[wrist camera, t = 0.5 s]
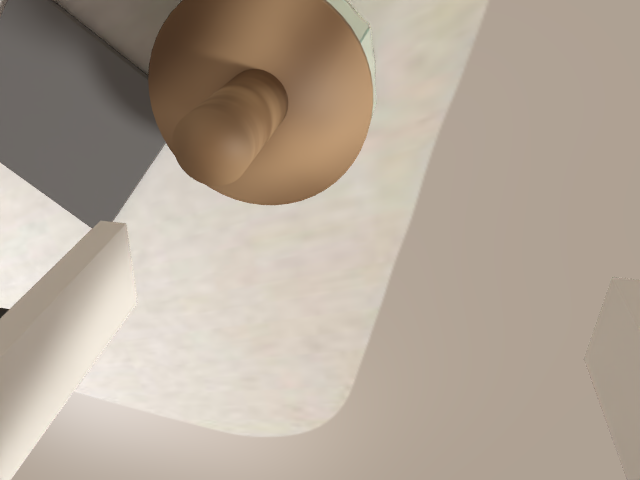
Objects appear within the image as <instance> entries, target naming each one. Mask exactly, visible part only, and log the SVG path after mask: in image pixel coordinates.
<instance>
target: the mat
mask: <svg viewBox="0 0 640 480" xmlns="http://www.w3.org/2000/svg"><path fill="white" fill-rule="evenodd" d="M165 143H166V142H165V140H164V138H163V137H162V134H161V132H160V130H159V128H158V125H157V123H156V120H155V117H154V114H153V111H152V106H151V101H150V96H149V84H148V75H146V74H145V73H144V72H142V71H141V70H140V69H139V68H137V67H136V66H135V65H134V64H132V63H131V62H130V61H129V60H127V59H126V58H125V57H124V56H122V55H121V54H120V53H118V52H117V51H116V50H115V49H113V48H112V47H111V46H110V45H108V44H107V43H106V42H105V41H103V40H102V39H101V38H100V37H98V36H97V35H96V34H94V33H93V32H92V31H91V30H89V29H88V28H87V27H86V26H84V25H83V24H82V23H81V22H79V21H78V20H77V19H75V18H74V17H73V16H72V15H70V14H69V13H68V12H67V11H65V10H64V9H63V8H62V7H60V6H59V5H58V4H57V3H55V2H54V1H53V0H7V3H6V5H5V7H4V10H3V12H2V14H1V17H0V163H2V164H3V165H5V166H6V167H7V168H9V169H10V170H12V171H13V172H14V173H16V174H17V175H19V176H20V177H21V178H23V179H24V180H25V181H27V182H28V183H30V184H31V185H32V186H34V187H35V188H37V189H38V190H39V191H41V192H42V193H44V194H45V195H46V196H48V197H49V198H51V199H52V200H53V201H55V202H56V203H57V204H59V205H60V206H62V207H63V208H64V209H66V210H67V211H69V212H70V213H71V214H73V215H74V216H76V217H77V218H78V219H80V220H81V221H82V222H84V223H85V224H87V225H88V226H89V227H91V228H94V227H95V226H96V225H97V224H98V223H99V222H100V221H108V222H113V220H114V219H115V217H116V216H117V214H118V213H119V211H120V210H121V209H122V207H123V206H124V204H125V203H126V201H127V200H128V198H129V197H130V195H131V194H132V192H133V191H134V189H135V188H136V186H137V185H138V183H139V182H140V180H141V179H142V177H143V176H144V174H145V173H146V171H147V170H148V168H149V167H150V165H151V164H152V163H153V161H154V160H155V158H156V157H157V155H158V154H159V152H160V151H161V149H162V148H163V146H164V145H165Z"/></svg>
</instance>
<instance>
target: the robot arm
mask: <svg viewBox="0 0 640 480" xmlns="http://www.w3.org/2000/svg"><path fill="white" fill-rule="evenodd" d="M137 303H138V301H137V294H136V287H135V280H134V273H133V267H132V260H131V253H130V246H129V239H128V233H127V226H126V223H117V222H108V221H100V222H99V223H98V224H97V225H96V226H95V227H94V228H92V229H91V230H90V231H89V232H88V233H87V234H86V235H85V236H84V237H83V238H82V239H81V240H80V241H79V242H78V243H77V244H76V245H75V246H74V247H73V248H72V249H71V250H70V251H69V252H68V253H67V254H66V255H65V256H64V257H63V258H62V259H61V260H60V261H59V262H58V263H57V264H56V265H55V266H54V267H53V268H51V269H50V270H49V271H48V272H47V273H46V274H45V275H44V276H43V277H42V278H41V279H40V280H39V281H38V282H37V283H36V284H35V285H34V286H33V287H32V288H31V289H30V290H29V291H28V292H27V293H26V294H25V295H24V296H23V297H22V298H21V299H20V300H19V301H18V302H17V303H16V304H15V305H14V306H13V307H12V308H11V309H4V308H0V480H11V479H12V477H13V476H14V474H15V473H16V472H17V470H18V469H19V467H20V466H21V465H22V463H23V462H24V460H25V459H26V458H27V456H28V455H29V453H30V452H31V451H32V449H33V448H34V447H35V445H36V444H37V442H38V441H39V440H40V438H41V437H42V435H43V434H44V432H45V431H46V430H47V428H48V427H49V426H50V424H51V423H52V421H53V420H54V419H55V417H56V416H57V415H58V413H59V412H60V410H61V409H62V408H63V406H64V405H65V403H66V402H67V401H68V399H69V398H70V396H71V395H72V394H73V392H74V391H75V389H76V388H77V387H78V385H79V384H80V383H81V381H82V380H83V378H84V377H85V376H86V374H87V373H88V371H89V370H90V369H91V367H92V366H93V364H94V363H95V362H96V360H97V359H98V357H99V356H100V355H101V353H102V352H103V351H104V349H105V348H106V346H107V345H108V344H109V342H110V341H111V339H112V338H113V337H114V335H115V334H116V332H117V331H118V330H119V328H120V327H121V325H122V324H123V323H124V321H125V320H126V319H127V317H128V316H129V314H130V313H131V312H132V310H133V309H134V307H135V306H136V305H137ZM584 361H585V363H586V366H587V369H588V372H589V375H590V378H591V380H592V383H593V386H594V389H595V392H596V394H597V397H598V400H599V403H600V406H601V409H602V411H603V414H604V417H605V420H606V423H607V425H608V428H609V431H610V434H611V437H612V440H613V442H614V445H615V448H616V451H617V454H618V456H619V459H620V462H621V465H622V468H623V471H624V473H625V476H626V479H627V480H640V280H635V279H626V278H617V277H612V279H611V282H610V285H609V288H608V291H607V293H606V296H605V299H604V302H603V305H602V308H601V311H600V314H599V317H598V319H597V322H596V325H595V328H594V331H593V334H592V337H591V340H590V343H589V345H588V348H587V351H586V354H585V357H584Z"/></svg>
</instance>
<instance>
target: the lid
mask: <svg viewBox="0 0 640 480" xmlns="http://www.w3.org/2000/svg"><path fill="white" fill-rule="evenodd" d="M148 84H149V96H150V101H151V106H152V111H153V114H154V117H155V120H156V123H157V125H158V128H159V130H160V132H161V134H162V137H163V138H164V140H165V142H166V143H167V145H168V147H169V148H170V150H171V151H172V153H173V154H174V155H175V157H176V159H177V161H178V163H179V165H180V166H181V168H182V169H183V170H184V171H185V172H186V173H187V174H188V175H189V176H190V177H192V178H193V179H195V180H196V181H198V182H200V183H203V184H205V185H207V186H208V187H210V188H212V189H213V190H215V191H217V192H219V193H221V194H223V195H225V196H228V197H231V198H233V199H236V200H239V201H243V202H247V203H253V204H259V205H281V204H289V203H294V202H298V201H302V200H304V199H307V198H310V197H312V196H315V195H316V194H318V193H320V192H322V191H324V190H325V189H327V188H328V187H330V186H331V185H332V184H334V183H335V182H336V181H337V180H338V179H339V178H340V177H341V176H342V175H344V174H345V173H346V171H347V170H348V169H349V167H350V166H351V165H352V164H353V162H354V161H355V159H356V157H357V156H358V154H359V152H360V150H361V148H362V146H363V143H364V141H365V138H366V136H367V133H368V129H369V125H370V121H371V118H372V109H373V84H372V77H371V71H370V67H369V64H368V60H367V57H366V55H365V52H364V50H363V47H362V45H361V43H360V41H359V39H358V38H357V36H356V34H355V32H354V31H353V29H352V28H351V26H350V25H349V24H348V22H347V21H346V20H345V18H344V17H343V16H342V15H341V14H340V13H339V12H338V11H337V10H336V9H335V8H334V7H333V6H332V5H331V4H330V3H329V2H327V1H326V0H183V1H182V2H181V3H180V4H179V5H178V6H177V7H176V8H175V9H174V10H173V11H172V12H171V13H170V15H169V16H168V18H167V19H166V21H165V22H164V24H163V25H162V27H161V29H160V31H159V33H158V35H157V37H156V40H155V43H154V46H153V49H152V53H151V58H150V63H149V76H148Z"/></svg>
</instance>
